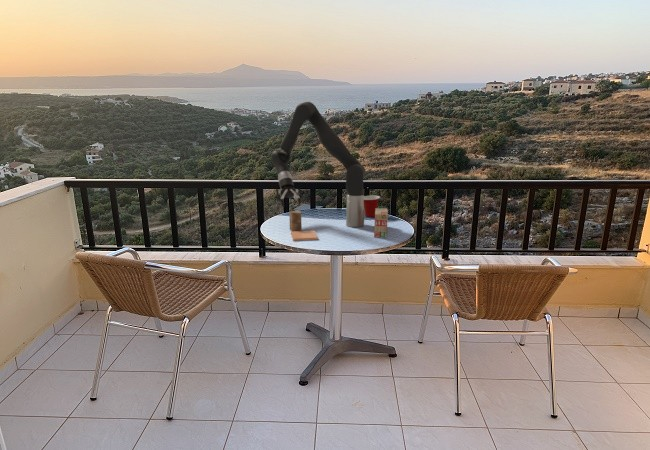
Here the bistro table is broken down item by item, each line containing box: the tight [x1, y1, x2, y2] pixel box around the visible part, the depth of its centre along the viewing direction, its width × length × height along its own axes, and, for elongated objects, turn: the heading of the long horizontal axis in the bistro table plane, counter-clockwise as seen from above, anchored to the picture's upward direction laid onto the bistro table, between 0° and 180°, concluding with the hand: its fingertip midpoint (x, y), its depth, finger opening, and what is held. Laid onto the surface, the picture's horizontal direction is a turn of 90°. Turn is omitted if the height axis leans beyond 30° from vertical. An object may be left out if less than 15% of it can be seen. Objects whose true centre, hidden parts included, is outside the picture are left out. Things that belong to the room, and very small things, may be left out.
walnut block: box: [288, 209, 303, 232], centre depth 208 cm, size 5×5×10 cm
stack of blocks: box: [373, 207, 389, 239], centre depth 207 cm, size 21×6×12 cm, turn 172°
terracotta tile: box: [290, 230, 319, 242], centre depth 199 cm, size 12×12×1 cm
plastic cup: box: [363, 194, 381, 218], centre depth 238 cm, size 11×11×12 cm
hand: (291, 205), depth 214 cm, fingers open, 8 cm apart
